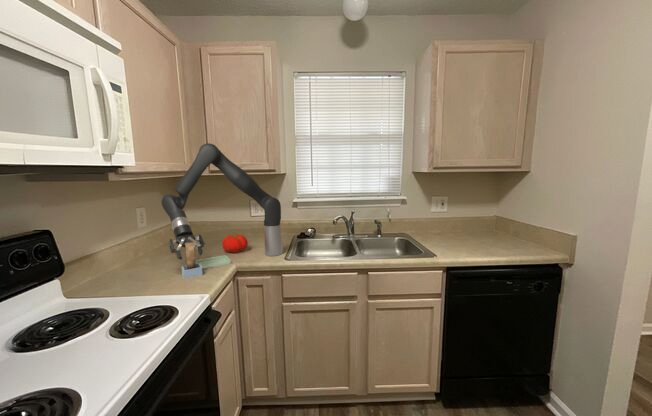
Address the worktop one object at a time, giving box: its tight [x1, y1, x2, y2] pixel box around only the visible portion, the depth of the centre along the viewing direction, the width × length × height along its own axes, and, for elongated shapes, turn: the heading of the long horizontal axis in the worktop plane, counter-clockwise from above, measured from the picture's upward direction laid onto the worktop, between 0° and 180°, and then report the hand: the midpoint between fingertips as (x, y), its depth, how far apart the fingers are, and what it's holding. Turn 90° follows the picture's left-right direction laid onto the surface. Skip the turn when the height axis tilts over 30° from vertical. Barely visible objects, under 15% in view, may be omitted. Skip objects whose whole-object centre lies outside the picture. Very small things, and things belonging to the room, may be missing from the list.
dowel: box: [184, 242, 196, 269], centre depth 126 cm, size 4×4×15 cm
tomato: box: [221, 233, 249, 254], centre depth 165 cm, size 14×16×10 cm
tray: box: [195, 254, 232, 270], centre depth 142 cm, size 16×12×2 cm
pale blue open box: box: [180, 263, 204, 280], centre depth 127 cm, size 8×8×4 cm
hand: (191, 256), depth 125 cm, fingers open, 8 cm apart
